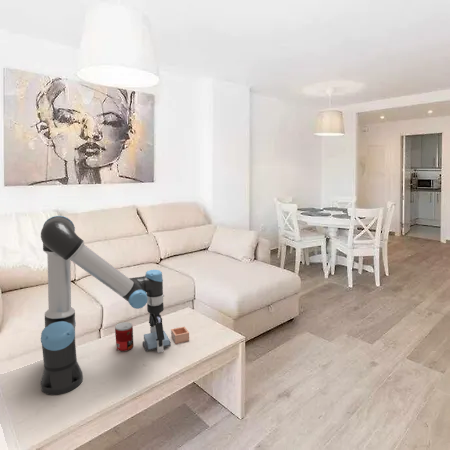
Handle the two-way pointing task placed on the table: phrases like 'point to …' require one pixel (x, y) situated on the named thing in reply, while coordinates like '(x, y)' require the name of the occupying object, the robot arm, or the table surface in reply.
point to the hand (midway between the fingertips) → (156, 345)
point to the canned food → (124, 336)
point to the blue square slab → (151, 340)
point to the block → (152, 348)
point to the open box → (179, 335)
